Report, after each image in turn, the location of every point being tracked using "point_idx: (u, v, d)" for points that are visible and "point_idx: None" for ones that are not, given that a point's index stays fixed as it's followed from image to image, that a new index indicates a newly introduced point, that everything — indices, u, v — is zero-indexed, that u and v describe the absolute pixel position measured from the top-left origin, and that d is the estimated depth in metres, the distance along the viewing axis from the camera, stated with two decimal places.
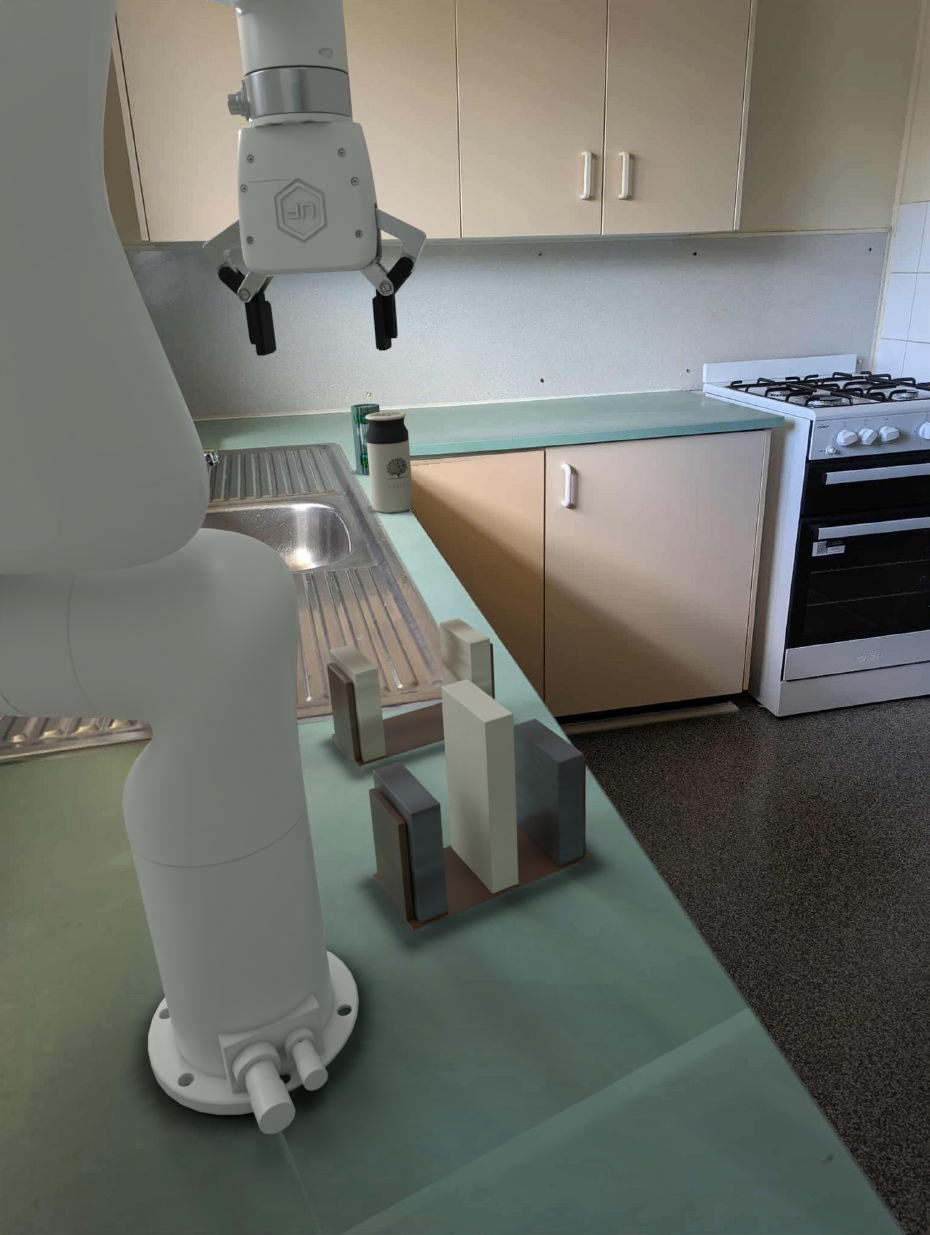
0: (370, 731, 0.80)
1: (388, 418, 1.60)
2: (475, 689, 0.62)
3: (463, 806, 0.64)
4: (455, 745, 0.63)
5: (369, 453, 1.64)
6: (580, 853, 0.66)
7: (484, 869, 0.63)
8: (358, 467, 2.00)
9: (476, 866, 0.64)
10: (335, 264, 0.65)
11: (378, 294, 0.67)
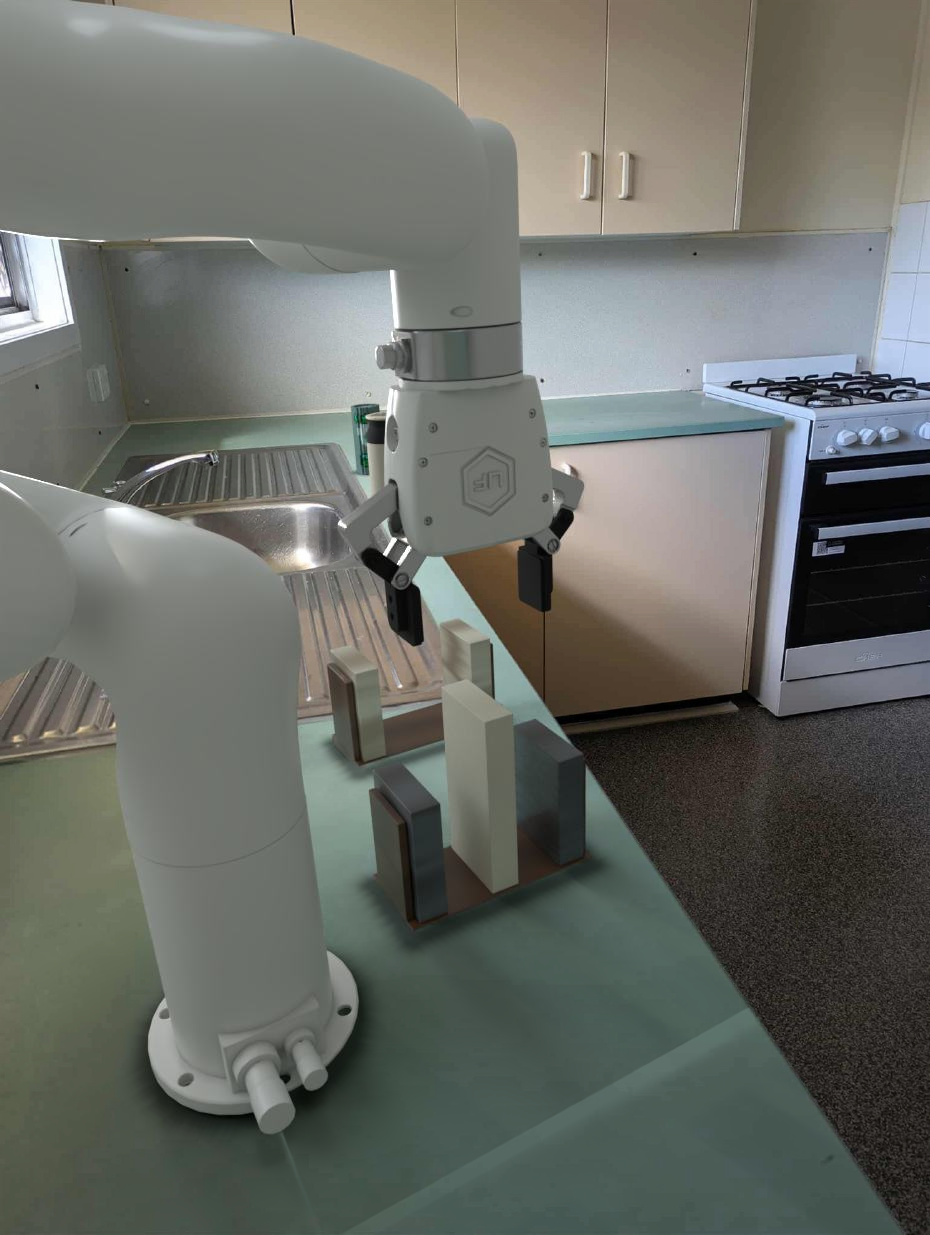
0: (370, 731, 0.80)
1: None
2: (475, 689, 0.62)
3: (463, 806, 0.64)
4: (455, 745, 0.63)
5: (369, 453, 1.64)
6: (580, 853, 0.66)
7: (484, 869, 0.63)
8: (358, 467, 2.00)
9: (476, 866, 0.64)
10: (520, 534, 0.55)
11: (539, 552, 0.58)
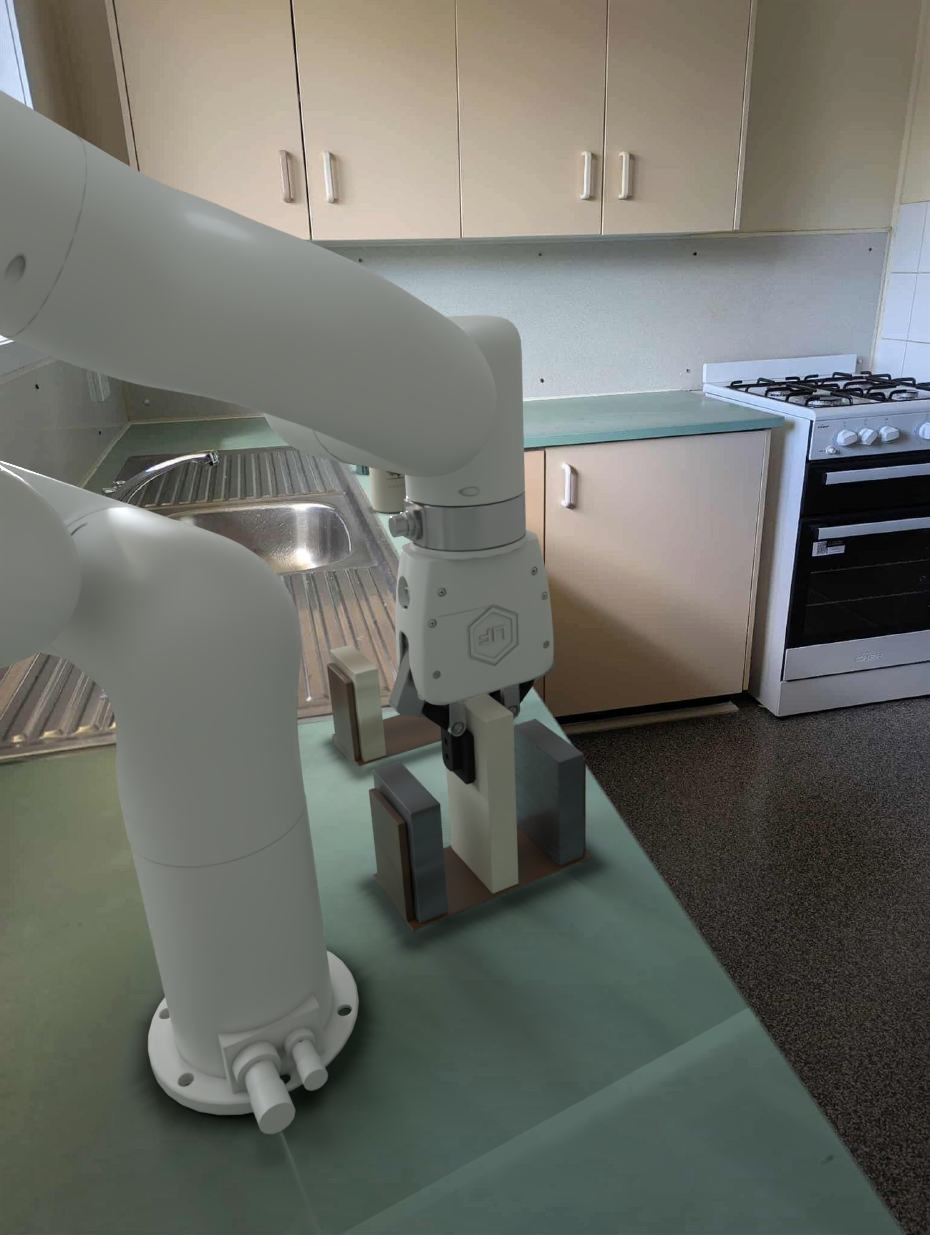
0: (370, 731, 0.80)
1: None
2: None
3: (463, 806, 0.64)
4: None
5: None
6: (580, 853, 0.66)
7: (484, 869, 0.63)
8: (358, 467, 2.00)
9: (476, 866, 0.64)
10: (522, 678, 0.58)
11: None
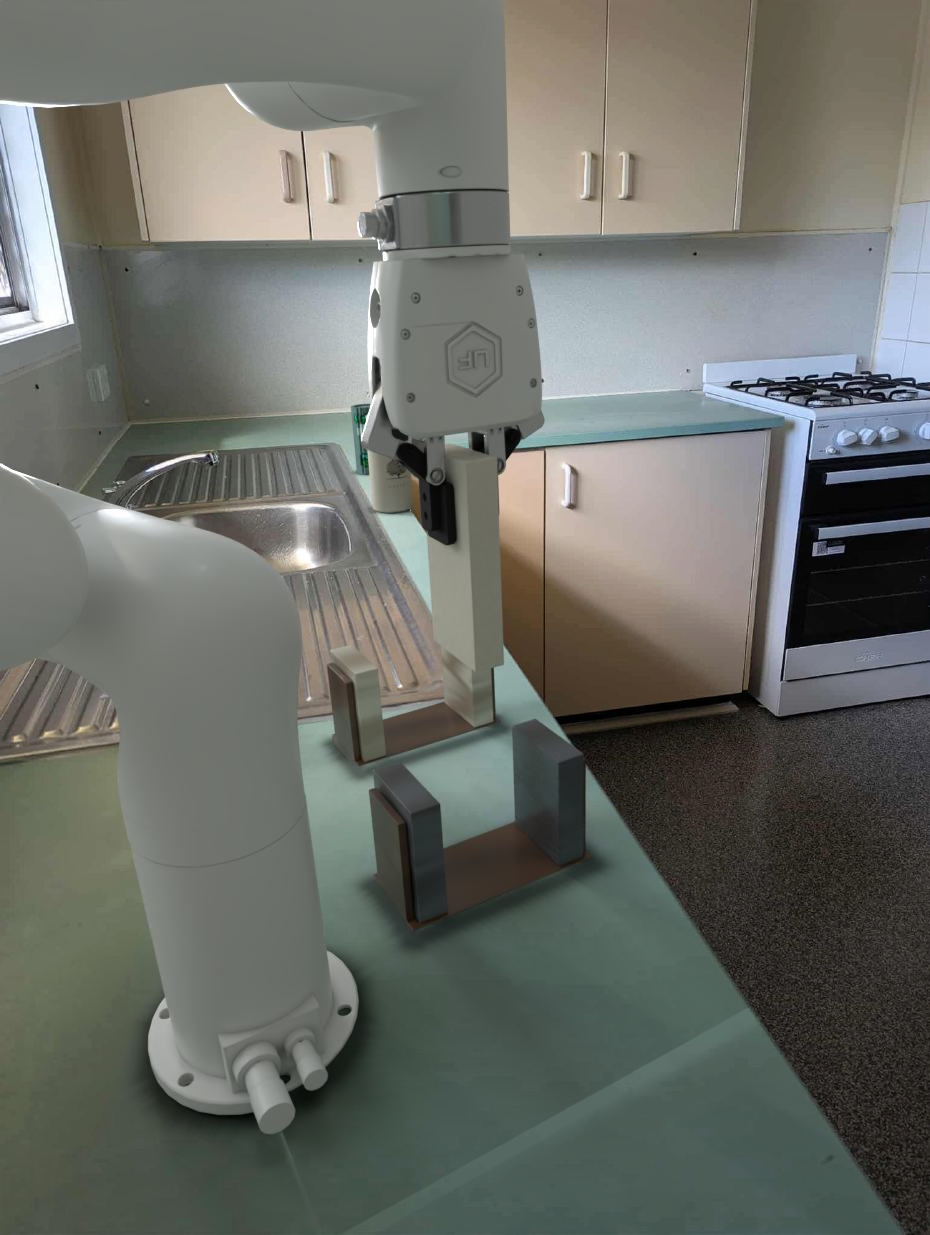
0: (370, 731, 0.80)
1: None
2: (457, 447, 0.57)
3: (445, 582, 0.59)
4: None
5: (369, 453, 1.64)
6: (580, 853, 0.66)
7: (466, 648, 0.58)
8: (358, 467, 2.00)
9: (458, 648, 0.59)
10: (507, 419, 0.53)
11: None
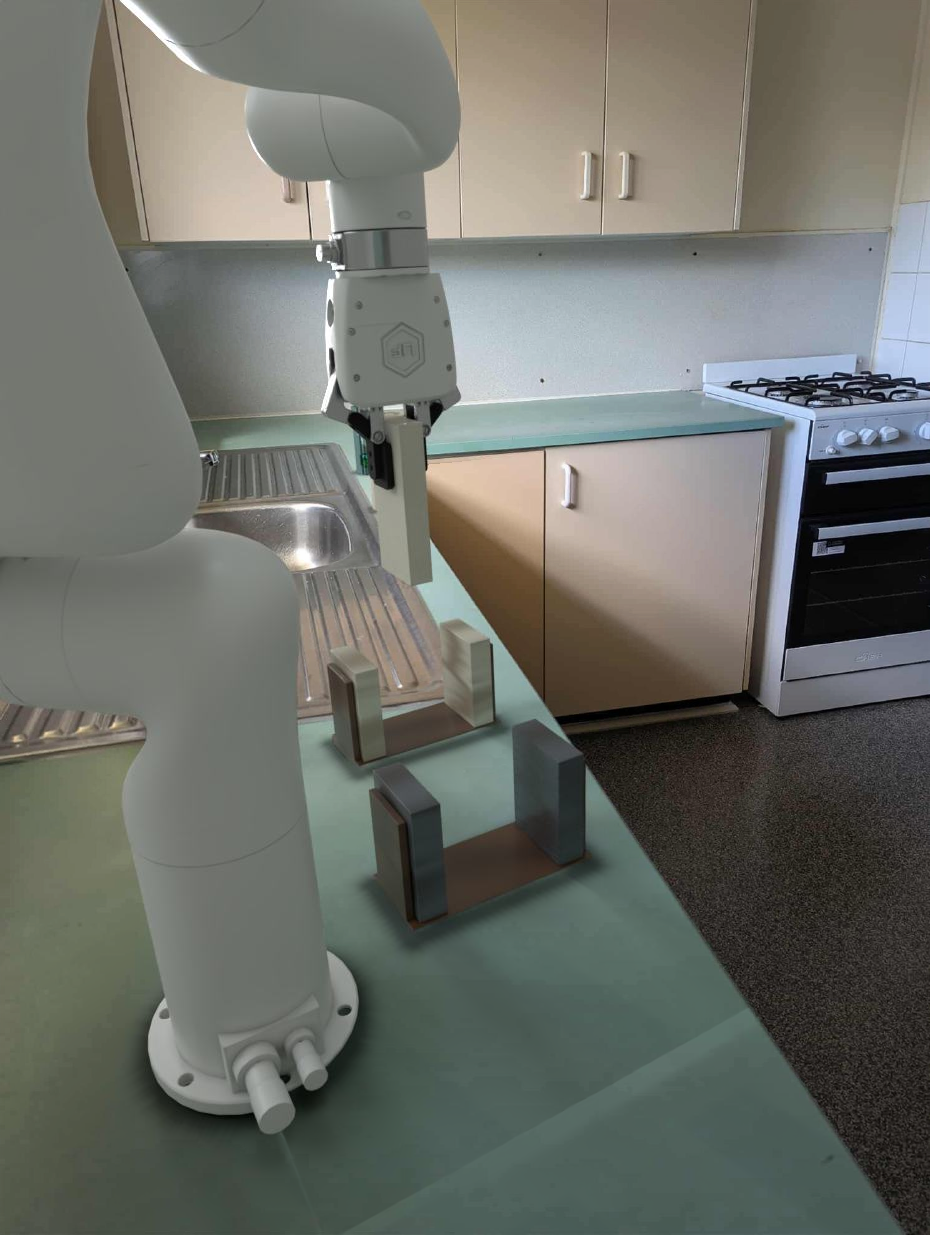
0: (370, 731, 0.80)
1: None
2: (395, 416, 0.76)
3: (388, 519, 0.78)
4: None
5: None
6: (580, 853, 0.66)
7: (404, 568, 0.77)
8: (358, 467, 2.00)
9: (398, 569, 0.78)
10: (430, 394, 0.72)
11: None
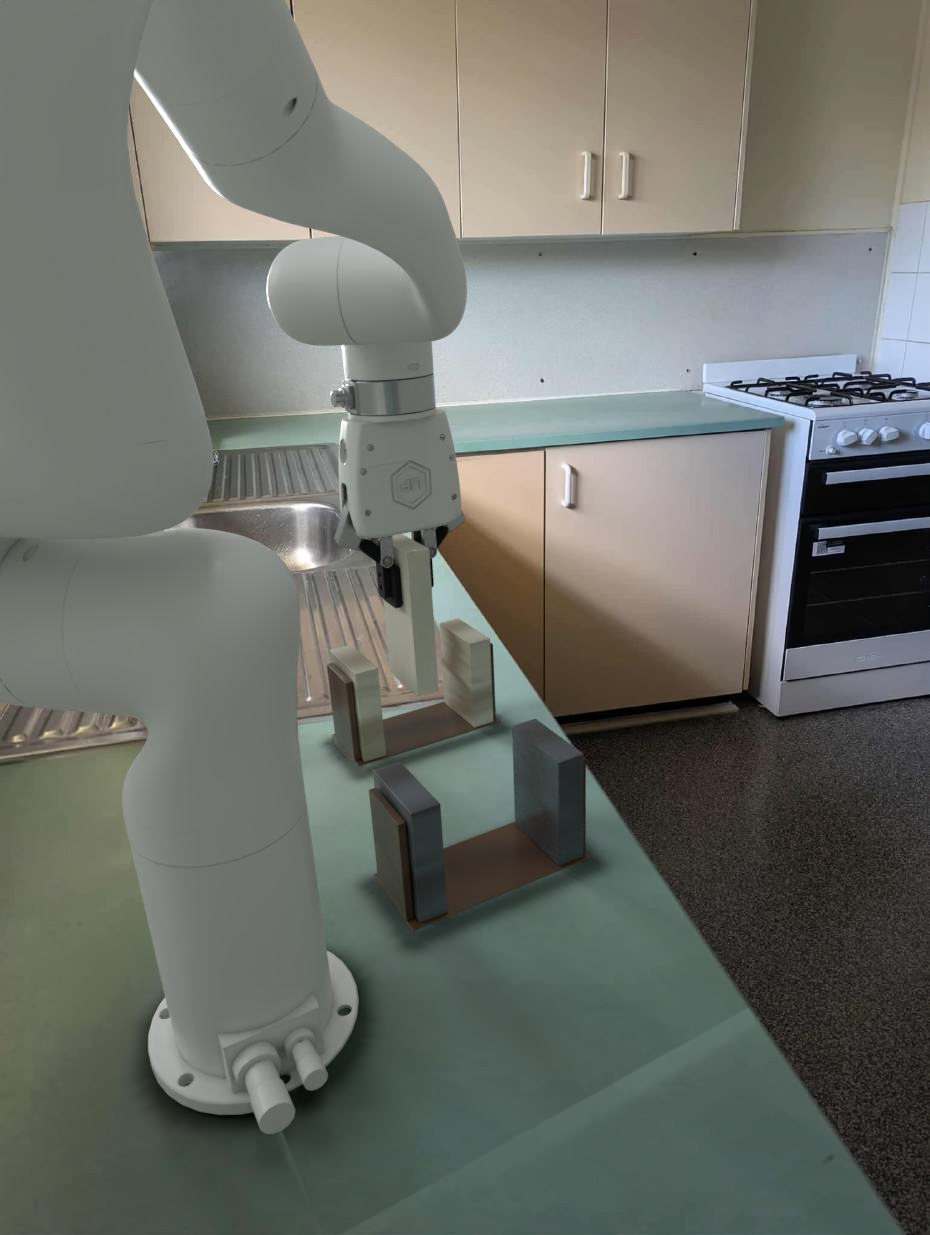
0: (370, 731, 0.80)
1: None
2: (403, 537, 0.80)
3: (396, 631, 0.82)
4: None
5: None
6: (580, 853, 0.66)
7: (411, 679, 0.82)
8: None
9: (406, 678, 0.83)
10: (436, 522, 0.77)
11: None
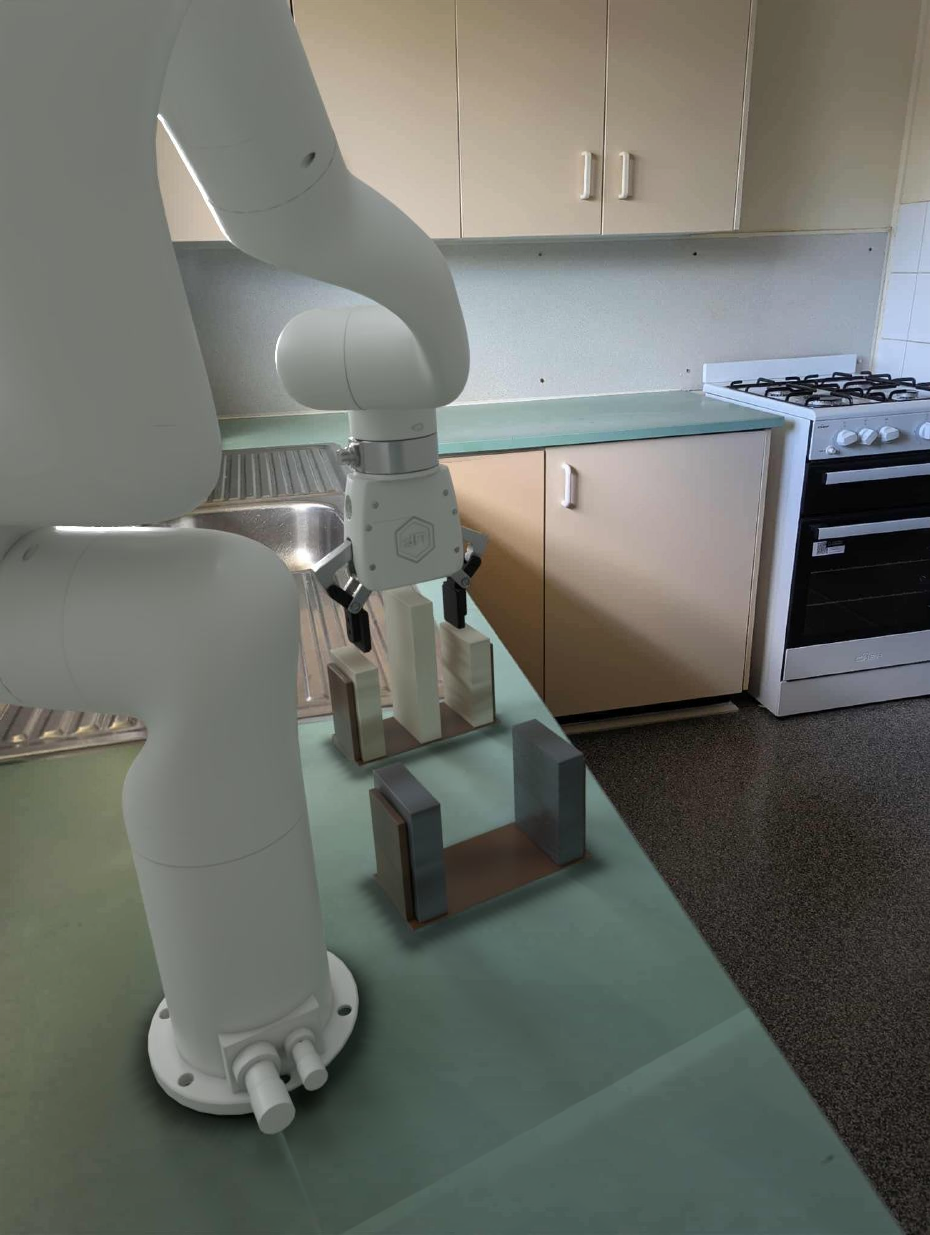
0: (370, 731, 0.80)
1: None
2: (407, 588, 0.82)
3: (400, 680, 0.84)
4: (393, 631, 0.83)
5: None
6: (580, 853, 0.66)
7: (415, 726, 0.83)
8: None
9: (410, 725, 0.85)
10: (439, 575, 0.79)
11: (456, 586, 0.82)
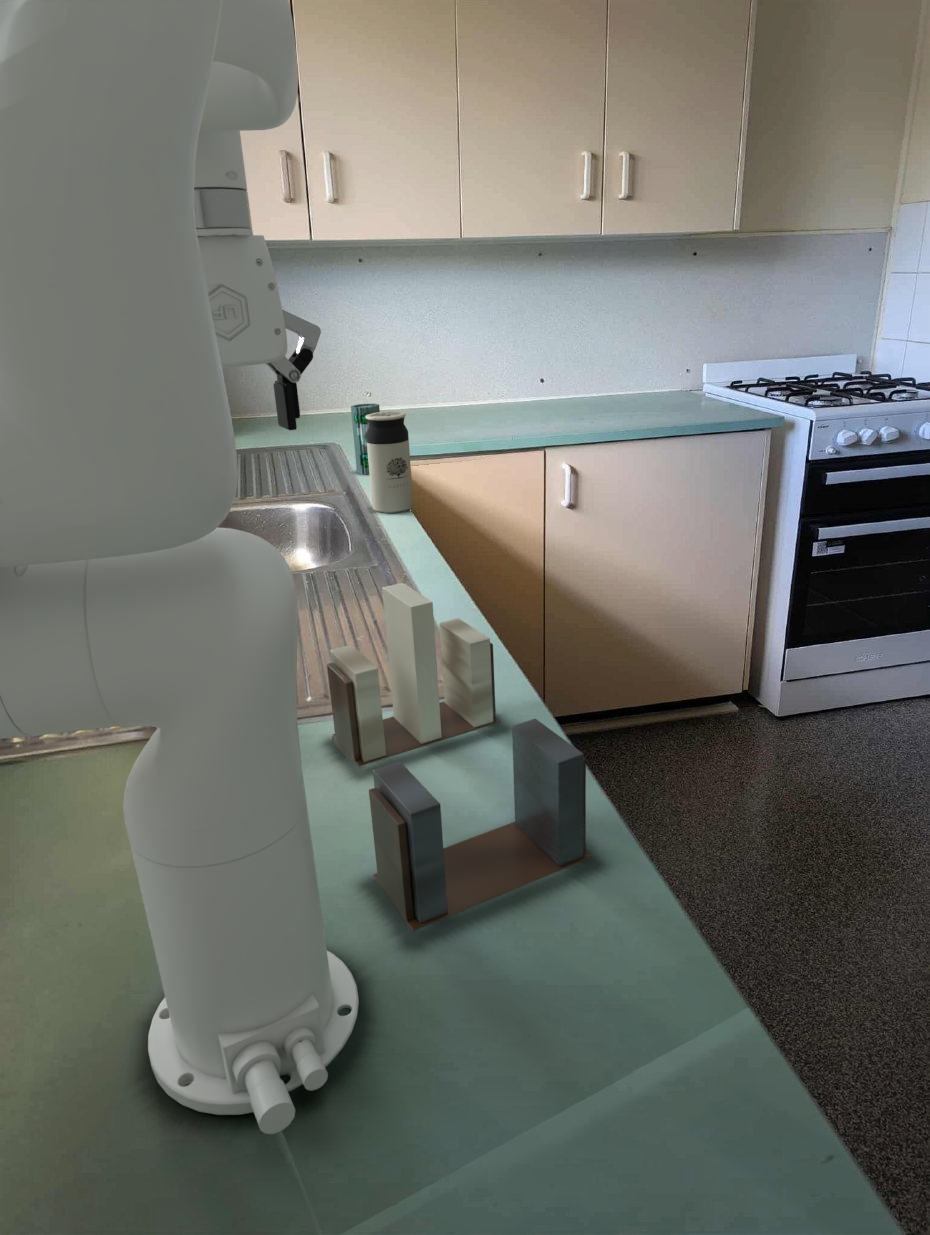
0: (370, 731, 0.80)
1: (388, 418, 1.60)
2: (407, 588, 0.82)
3: (400, 680, 0.84)
4: (393, 631, 0.83)
5: (369, 453, 1.64)
6: (580, 853, 0.66)
7: (415, 726, 0.83)
8: (358, 467, 2.00)
9: (410, 725, 0.85)
10: (257, 358, 0.72)
11: (285, 381, 0.76)
